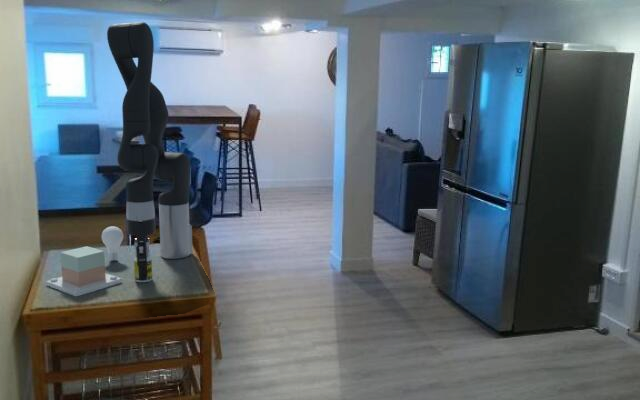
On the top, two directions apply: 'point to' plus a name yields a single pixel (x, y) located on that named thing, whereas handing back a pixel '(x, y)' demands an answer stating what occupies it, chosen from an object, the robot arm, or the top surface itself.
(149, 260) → the supplement bottle
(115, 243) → the lightbulb
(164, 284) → the top surface
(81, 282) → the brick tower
